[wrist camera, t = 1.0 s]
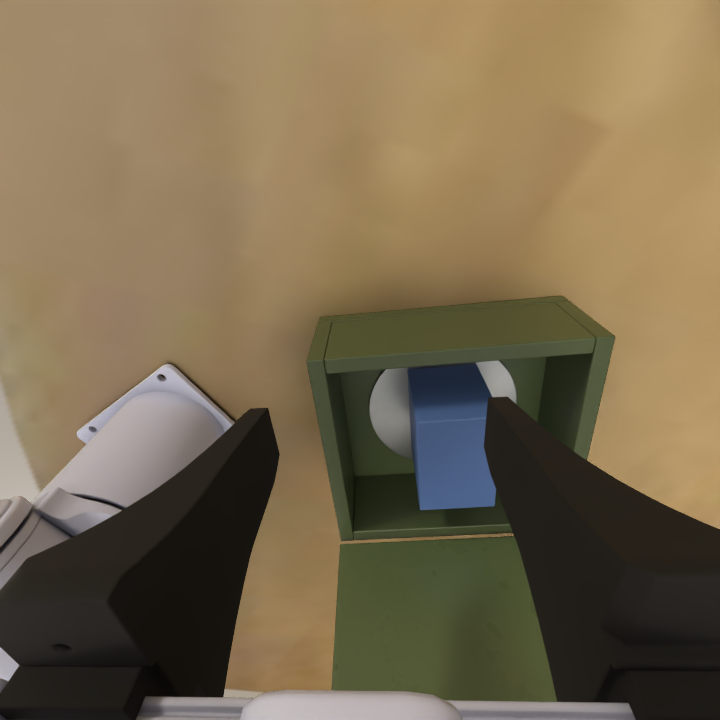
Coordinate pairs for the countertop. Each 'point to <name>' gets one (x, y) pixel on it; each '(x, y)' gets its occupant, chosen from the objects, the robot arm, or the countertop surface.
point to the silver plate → (393, 401)
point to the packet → (450, 437)
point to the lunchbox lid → (439, 621)
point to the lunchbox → (442, 347)
